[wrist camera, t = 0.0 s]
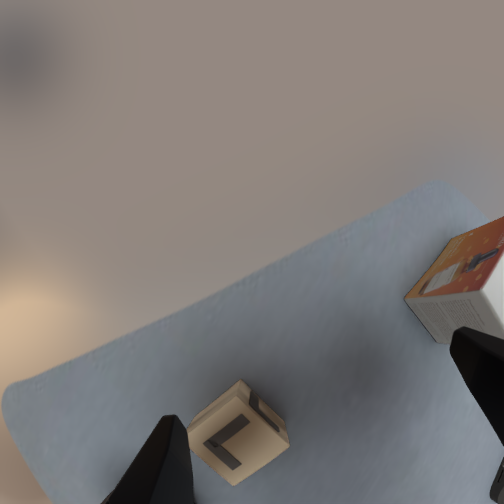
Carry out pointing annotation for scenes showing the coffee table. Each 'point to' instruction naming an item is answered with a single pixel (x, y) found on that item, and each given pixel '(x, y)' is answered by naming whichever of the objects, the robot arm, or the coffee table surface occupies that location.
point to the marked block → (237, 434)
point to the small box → (464, 285)
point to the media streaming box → (498, 486)
